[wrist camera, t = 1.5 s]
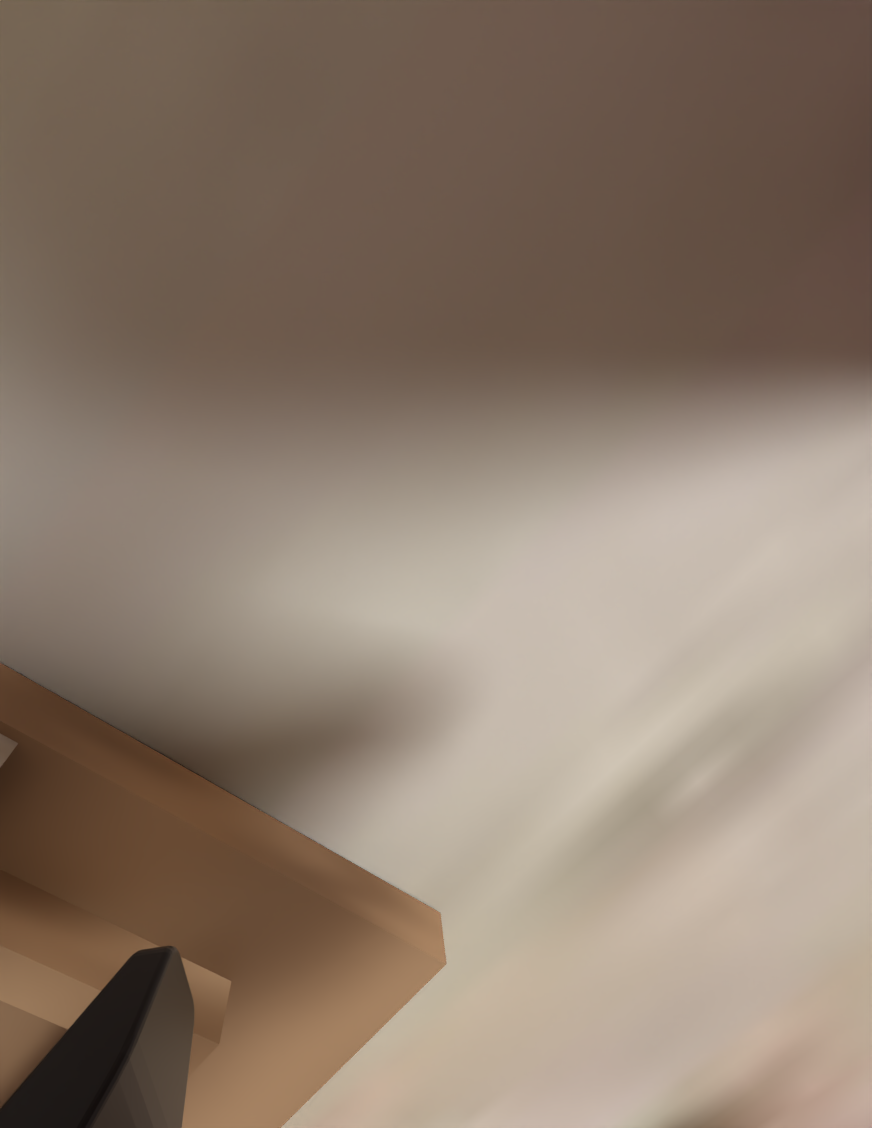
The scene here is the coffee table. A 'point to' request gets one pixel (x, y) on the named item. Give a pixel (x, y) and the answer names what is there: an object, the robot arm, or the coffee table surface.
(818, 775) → the coffee table surface
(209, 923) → the board
